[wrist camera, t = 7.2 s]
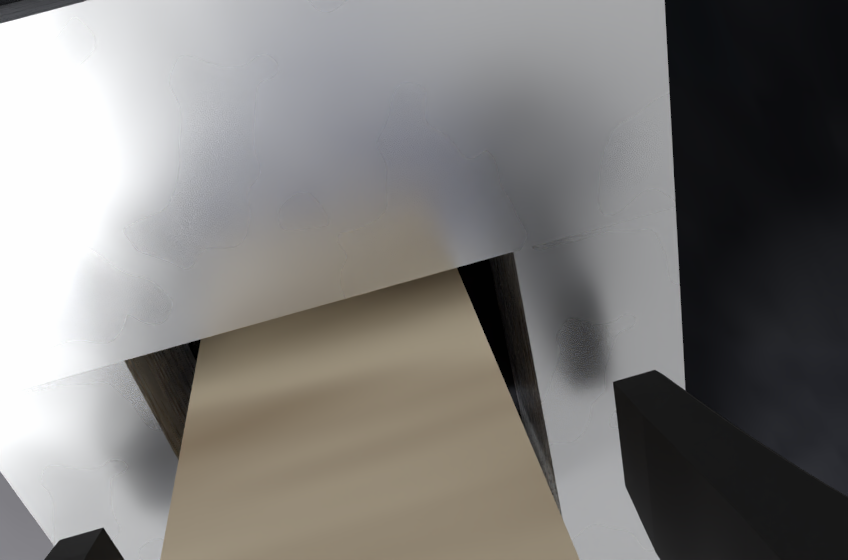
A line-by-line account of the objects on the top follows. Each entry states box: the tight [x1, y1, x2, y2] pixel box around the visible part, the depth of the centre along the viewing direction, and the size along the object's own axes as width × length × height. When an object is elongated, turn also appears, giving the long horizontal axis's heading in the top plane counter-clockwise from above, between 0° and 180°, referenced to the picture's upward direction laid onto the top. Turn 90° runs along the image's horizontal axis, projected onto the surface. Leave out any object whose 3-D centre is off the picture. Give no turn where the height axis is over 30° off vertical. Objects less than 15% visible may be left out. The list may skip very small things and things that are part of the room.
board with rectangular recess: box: [0, 0, 685, 560], centre depth 13 cm, size 18×10×2 cm, turn 13°
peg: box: [160, 268, 580, 560], centre depth 10 cm, size 4×4×7 cm
